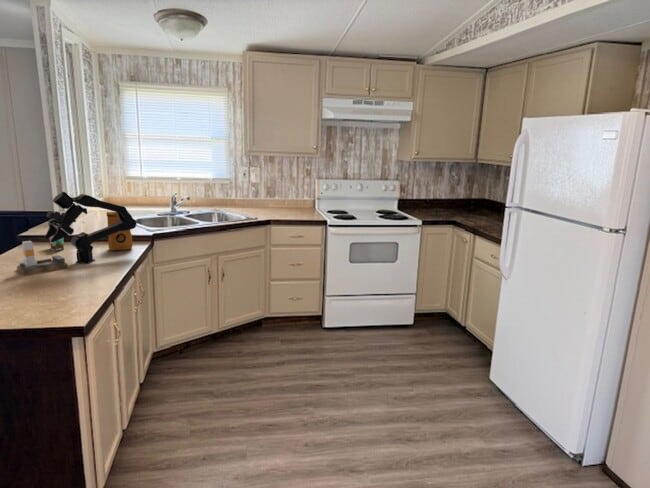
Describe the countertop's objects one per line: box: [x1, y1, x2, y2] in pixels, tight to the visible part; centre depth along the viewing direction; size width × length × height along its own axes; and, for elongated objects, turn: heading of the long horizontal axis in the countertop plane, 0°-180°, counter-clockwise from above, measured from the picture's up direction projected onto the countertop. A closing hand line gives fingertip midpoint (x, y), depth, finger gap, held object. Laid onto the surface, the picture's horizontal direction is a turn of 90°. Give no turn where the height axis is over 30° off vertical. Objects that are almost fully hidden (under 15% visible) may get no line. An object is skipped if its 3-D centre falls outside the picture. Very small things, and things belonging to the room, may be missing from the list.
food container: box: [49, 235, 65, 253], centre depth 246 cm, size 12×6×10 cm, turn 47°
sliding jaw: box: [22, 240, 38, 267], centre depth 205 cm, size 4×8×12 cm, turn 47°
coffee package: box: [106, 211, 134, 251], centre depth 248 cm, size 10×12×22 cm
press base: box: [16, 255, 69, 276], centre depth 210 cm, size 18×12×4 cm, turn 137°
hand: (48, 240), depth 210 cm, fingers open, 9 cm apart
